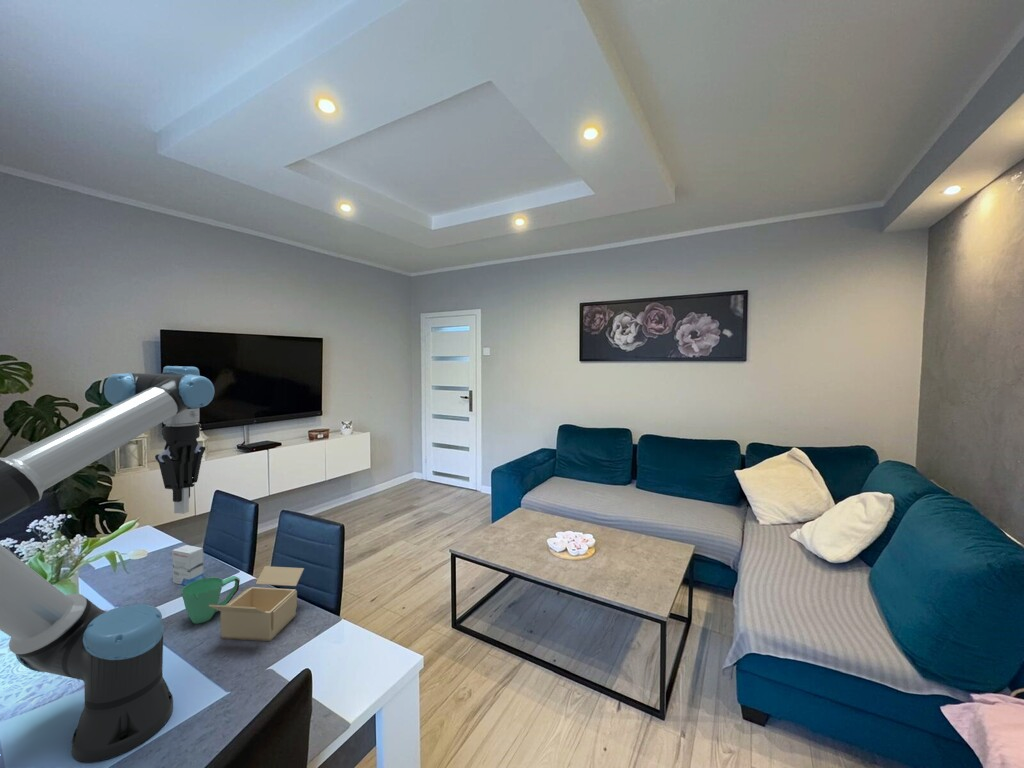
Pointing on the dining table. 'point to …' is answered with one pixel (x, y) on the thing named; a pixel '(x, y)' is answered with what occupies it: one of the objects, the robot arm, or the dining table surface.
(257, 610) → the flap near
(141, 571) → the dining table surface
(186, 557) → the ink box
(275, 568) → the flap far
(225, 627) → the carton
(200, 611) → the mug
